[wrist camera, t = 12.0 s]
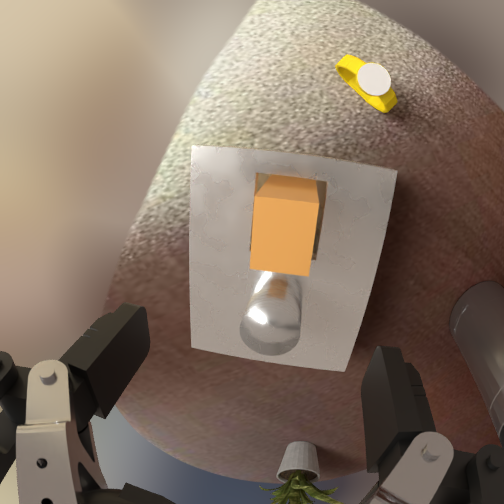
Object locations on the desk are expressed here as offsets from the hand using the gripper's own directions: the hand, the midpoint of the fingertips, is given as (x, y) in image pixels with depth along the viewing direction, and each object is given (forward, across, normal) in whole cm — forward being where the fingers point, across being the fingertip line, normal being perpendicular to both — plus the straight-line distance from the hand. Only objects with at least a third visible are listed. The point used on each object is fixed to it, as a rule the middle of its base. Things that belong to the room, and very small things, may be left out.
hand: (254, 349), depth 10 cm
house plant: (+22, -8, +43) cm, 49 cm away
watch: (+22, -5, -12) cm, 26 cm away
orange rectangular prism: (+21, 0, 0) cm, 21 cm away
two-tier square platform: (+22, 0, +5) cm, 23 cm away
